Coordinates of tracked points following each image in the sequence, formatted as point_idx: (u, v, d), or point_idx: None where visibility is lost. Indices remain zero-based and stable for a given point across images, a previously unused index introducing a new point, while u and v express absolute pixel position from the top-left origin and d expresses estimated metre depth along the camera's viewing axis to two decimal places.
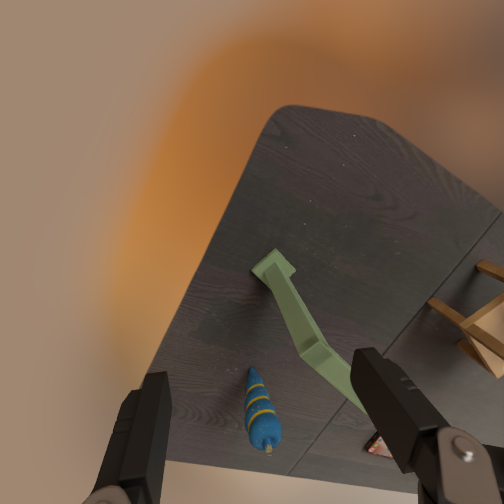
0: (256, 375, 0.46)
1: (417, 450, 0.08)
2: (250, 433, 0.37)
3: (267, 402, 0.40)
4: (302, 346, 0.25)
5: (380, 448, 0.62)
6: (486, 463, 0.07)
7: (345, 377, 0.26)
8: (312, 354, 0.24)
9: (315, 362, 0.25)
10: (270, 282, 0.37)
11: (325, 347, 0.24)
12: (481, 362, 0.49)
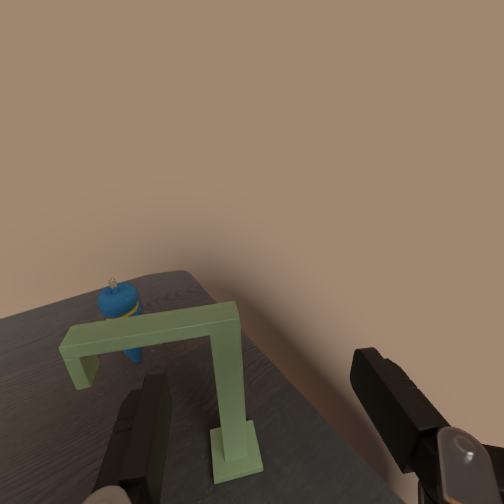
0: (136, 352, 0.39)
1: (417, 450, 0.08)
2: None
3: None
4: None
5: None
6: (486, 463, 0.07)
7: (163, 322, 0.20)
8: (228, 308, 0.21)
9: (215, 307, 0.22)
10: None
11: (226, 319, 0.20)
12: None
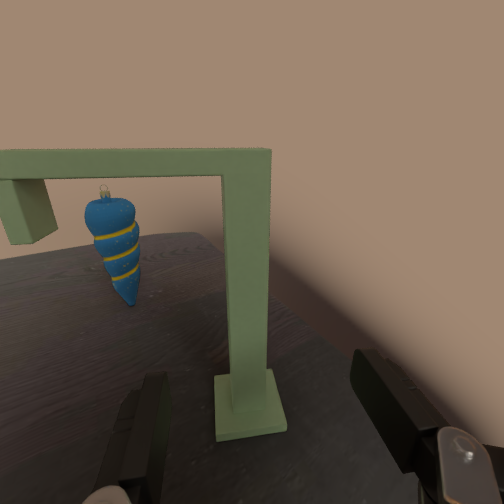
0: (130, 290, 0.32)
1: (417, 450, 0.08)
2: None
3: (117, 247, 0.28)
4: None
5: None
6: (486, 463, 0.07)
7: None
8: None
9: None
10: None
11: (249, 149, 0.13)
12: None
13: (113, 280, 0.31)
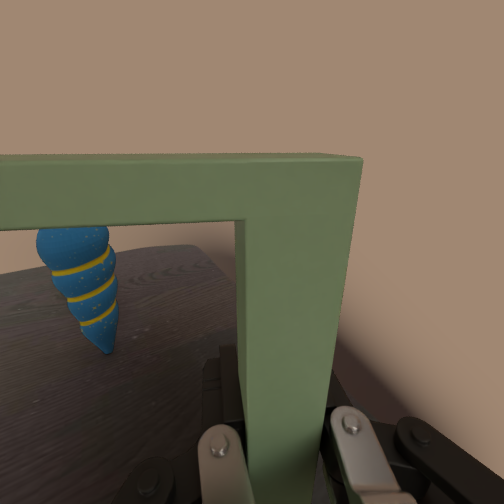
0: (104, 336, 0.24)
1: None
2: (106, 227, 0.22)
3: (83, 285, 0.21)
4: None
5: None
6: (366, 437, 0.08)
7: (70, 157, 0.05)
8: (305, 154, 0.06)
9: (261, 154, 0.07)
10: None
11: (312, 159, 0.05)
12: None
13: (81, 325, 0.23)
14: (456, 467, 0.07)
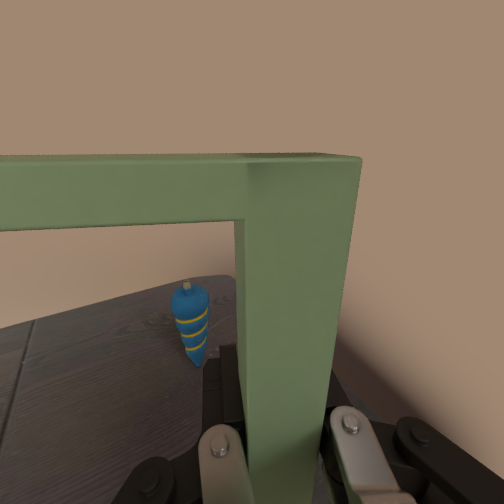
0: (200, 356, 0.38)
1: None
2: (206, 291, 0.36)
3: (196, 328, 0.35)
4: None
5: None
6: (366, 437, 0.08)
7: (70, 157, 0.05)
8: (304, 154, 0.06)
9: (260, 154, 0.07)
10: None
11: (311, 159, 0.05)
12: None
13: (187, 350, 0.37)
14: (456, 467, 0.07)
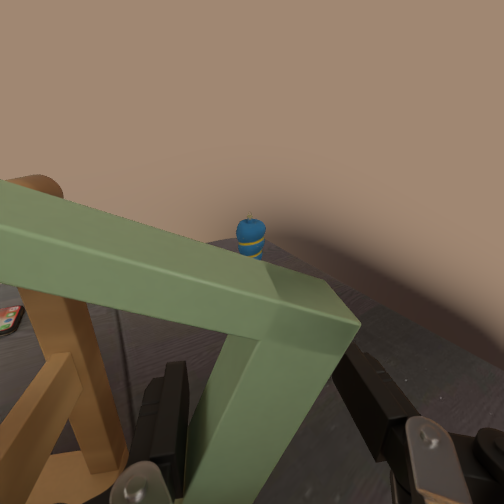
0: None
1: (388, 439, 0.09)
2: None
3: (256, 249, 0.46)
4: None
5: None
6: (449, 449, 0.07)
7: (137, 243, 0.06)
8: (317, 288, 0.08)
9: (283, 273, 0.08)
10: None
11: (326, 313, 0.06)
12: None
13: None
14: None
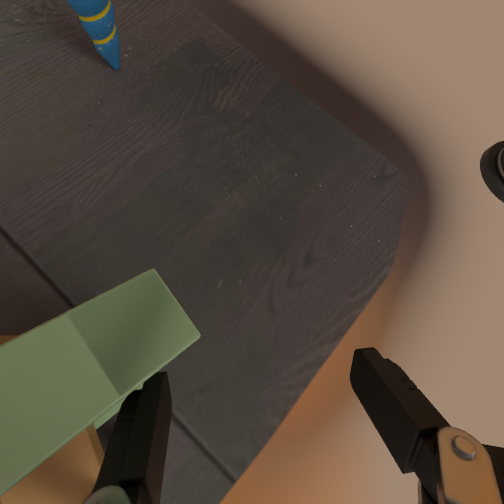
0: (116, 53, 0.33)
1: (417, 450, 0.08)
2: None
3: (100, 3, 0.27)
4: None
5: None
6: (486, 463, 0.07)
7: None
8: (150, 308, 0.07)
9: (104, 318, 0.06)
10: None
11: (168, 358, 0.07)
12: None
13: (98, 44, 0.31)
14: None
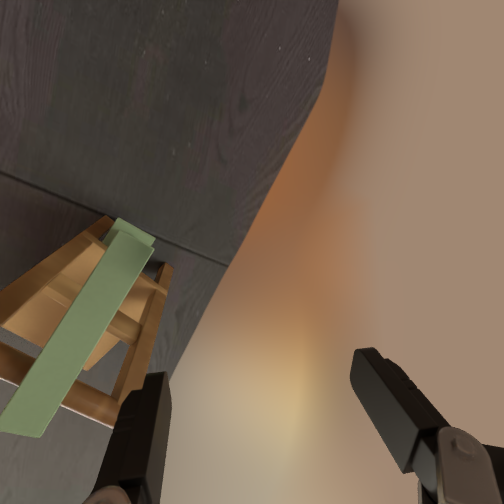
0: None
1: (417, 450, 0.08)
2: None
3: None
4: None
5: None
6: (486, 463, 0.07)
7: (91, 323, 0.16)
8: (128, 247, 0.17)
9: (113, 258, 0.16)
10: None
11: (145, 262, 0.17)
12: None
13: None
14: None
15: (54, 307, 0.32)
